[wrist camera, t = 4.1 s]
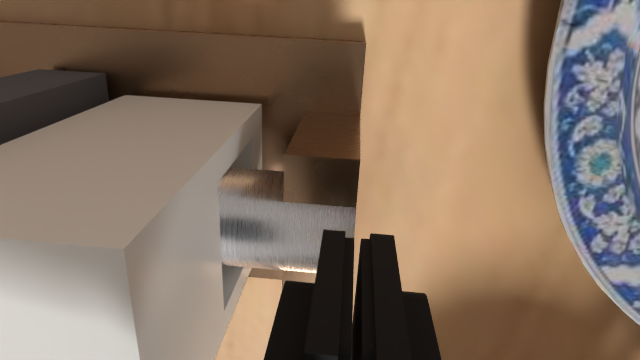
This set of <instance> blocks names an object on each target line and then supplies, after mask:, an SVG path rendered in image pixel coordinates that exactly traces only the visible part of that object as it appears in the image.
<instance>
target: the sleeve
mask: <svg viewBox="0 0 640 360" xmlns="http://www.w3.org/2000/svg"><path fill="white" fill-rule="evenodd" d="M229 167H231V168H244V169H258V170H262V104H254V103H239V102H224V101H208V100H193V99H178V98H162V97H147V96H132V95H124V96H122V97H119V98H117V99H114V100H112V101H109V102H107V103H104V104H102V105H99V106H97V107H94V108H92V109H89V110H87V111H84V112H82V113H79V114H77V115H74V116H72V117H69V118H67V119H64V120H62V121H59V122H57V123H54V124H52V125H49V126H47V127H44V128H42V129H39V130H37V131H34V132H32V133H29V134H27V135H24V136H22V137H19V138H17V139H14V140H12V141H9V142H7V143H4V144H2V145H0V360H215V357H216V355H217V352H218V350H219V348H220V345H221V343H222V340H223V338H224V335H225V333H226V330H227V328H228V325H229V323H230V320H231V318H232V315H233V313H234V311H235V308H236V306H237V303H238V301H239V298H240V296H241V293H242V291H243V288H244V286H245V283H246V281H247V278H248V276H249V274H250V271H251V269H252V268H250V267H238V266H227V265H222V258H221V237H220V215H219V194H218V181H219V180H220V179H221V177H222V176H223V175H224V174H225V172H226V171H227V170H228V169H229Z"/></svg>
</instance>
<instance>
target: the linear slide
mask: <svg viewBox="0 0 640 360" xmlns="http://www.w3.org/2000/svg"><path fill="white" fill-rule="evenodd" d="M365 49H366V42H361V41H343V40H325V39H307V38H290V37H272V36H254V35H236V34H218V33H200V32H182V31H164V30H146V29H128V28H110V27H92V26H74V25H56V24H38V23H20V22H2V21H0V77H4V76H9V75H14V74H18V73H23V72H28V71H33V70H37V69H45V70H61V71H77V72H93V73H105V74H106V81H107V89H108V96H109V101H112V100H114V99H117V98H119V97H122V96H124V95H132V96H147V97H162V98H178V99H193V100H208V101H224V102H239V103H254V104H262V170H258V169H244V168H231V167H229V169H228V170H227V171H226V172H225V174H224V175H223V176H222V177H221V179H220V180H219V181H218V194H219V215H220V237H221V258H222V265H227V266H238V267H250V268H252V269H251V271H250V274H249V276H248V277H258V278H269V279H280V280H282V290H283V286H284V283H285V281H286V280H288V281H298V282H309V283H315V278H316V272H317V266H318V259H319V253H320V247H321V241H322V235H323V229H325V230H337V231H346V235H345V237H348V238H354V230H355V215H356V202H357V190H358V179H359V167H360V110H361V98H362V86H363V74H364V62H365Z"/></svg>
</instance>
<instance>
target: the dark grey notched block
mask: <svg viewBox="0 0 640 360" xmlns="http://www.w3.org/2000/svg"><path fill="white" fill-rule="evenodd" d="M107 102H109V96H108V89H107V81H106V74H105V73H93V72H77V71H61V70H45V69H37V70H33V71H28V72H23V73H18V74H14V75H9V76H4V77H0V145H2V144H4V143H7V142H9V141H12V140H14V139H17V138H19V137H22V136H24V135H27V134H29V133H32V132H34V131H37V130H39V129H42V128H44V127H47V126H49V125H52V124H54V123H57V122H59V121H62V120H64V119H67V118H69V117H72V116H74V115H77V114H79V113H82V112H84V111H87V110H89V109H92V108H94V107H97V106H99V105H102V104H104V103H107Z"/></svg>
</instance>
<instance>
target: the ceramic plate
mask: <svg viewBox="0 0 640 360" xmlns="http://www.w3.org/2000/svg"><path fill="white" fill-rule="evenodd" d="M544 144H545V152H546V160H547V168H548V175H549V179H550V183H551V186H552V190H553V194H554V198H555V201H556V205H557V209H558V213H559V216H560V220H561V222H562V224H563V227H564V229H565V231H566V233H567V235H568V238H569V239H570V241H571V243H572V245H573V247H574V249H575V251H576V252H577V254H578V256H579V258H580V260H581V262H582V263H583V265H584V266H585V268H586V269H587V270H588V272H589V273H590V275H591V276H592V278H593V279H594V280H595V282H596V283H597V285H598V286H599V287H600V288H601V289H602V290H603V291H604V292H605V293H606V294H607V295H608V296H609V297H610V298H611V299H612V301H613V302H614V303H615V304H616V305H617V306H618V307H619V308H620V309H621V310H622V311H623V312H624V313H625V314H627V315H628V316H629V317H630V318H631V319H633V320H634V321H635V322H636V323H637V324H638V325H640V0H561V3H560V8H559V12H558V17H557V22H556V27H555V31H554V36H553V41H552V46H551V50H550V55H549V60H548V65H547V75H546V86H545V97H544Z"/></svg>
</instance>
